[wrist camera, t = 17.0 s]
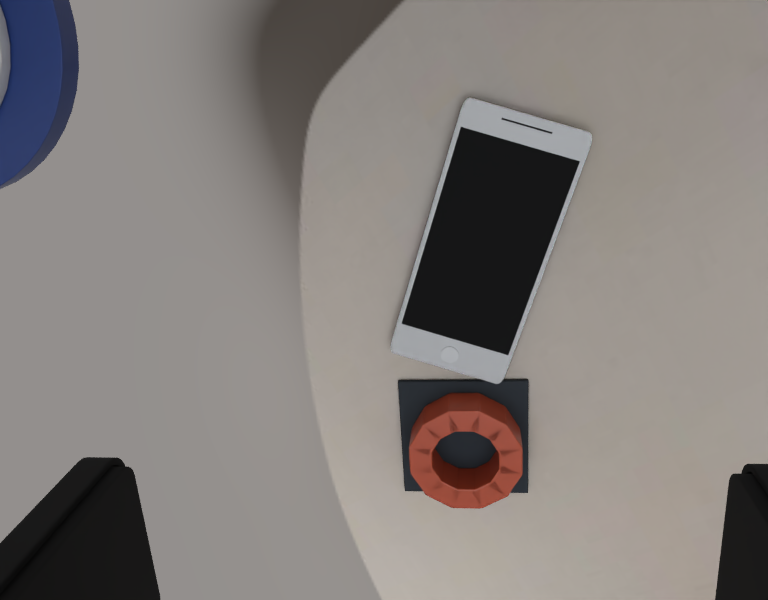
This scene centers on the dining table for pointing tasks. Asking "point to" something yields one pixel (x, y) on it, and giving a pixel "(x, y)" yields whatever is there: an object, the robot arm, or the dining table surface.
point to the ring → (466, 483)
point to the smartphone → (488, 238)
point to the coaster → (463, 445)
